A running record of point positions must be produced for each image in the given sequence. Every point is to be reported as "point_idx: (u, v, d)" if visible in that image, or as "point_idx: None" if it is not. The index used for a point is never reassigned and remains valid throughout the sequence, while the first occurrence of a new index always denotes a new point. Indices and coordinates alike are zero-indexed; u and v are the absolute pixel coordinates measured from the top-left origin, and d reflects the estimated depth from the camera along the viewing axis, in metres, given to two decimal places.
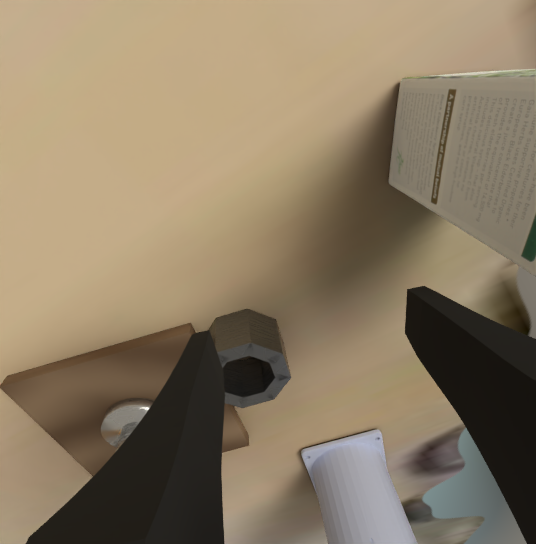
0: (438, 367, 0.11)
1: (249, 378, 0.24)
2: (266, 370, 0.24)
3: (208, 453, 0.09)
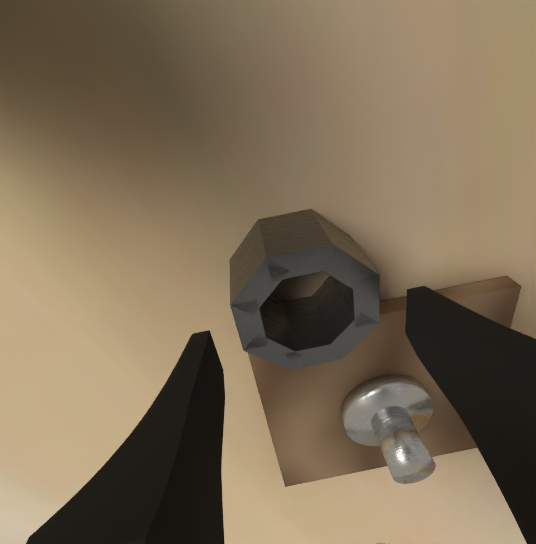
0: (438, 367, 0.11)
1: (342, 288, 0.14)
2: None
3: (208, 453, 0.09)
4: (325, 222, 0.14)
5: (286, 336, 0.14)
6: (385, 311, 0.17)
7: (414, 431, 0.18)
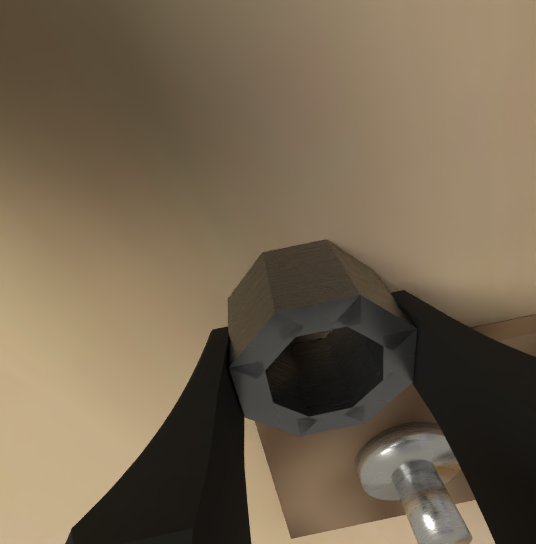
0: (416, 371, 0.11)
1: (365, 336, 0.12)
2: None
3: (234, 448, 0.09)
4: (345, 256, 0.12)
5: (297, 395, 0.12)
6: None
7: (445, 493, 0.15)
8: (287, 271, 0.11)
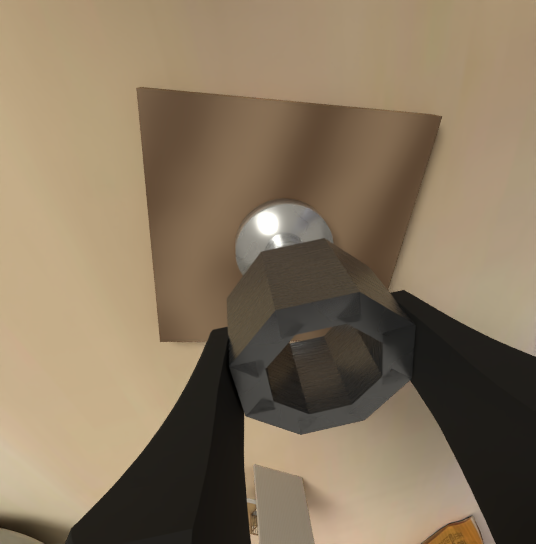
0: (416, 372, 0.11)
1: (364, 333, 0.12)
2: None
3: (233, 448, 0.09)
4: (343, 254, 0.12)
5: (297, 393, 0.12)
6: (302, 103, 0.15)
7: None
8: (286, 269, 0.11)
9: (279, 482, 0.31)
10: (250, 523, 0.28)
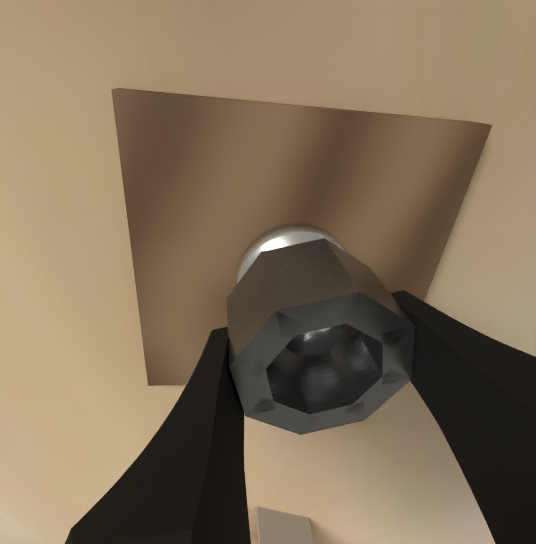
0: (416, 372, 0.11)
1: (364, 333, 0.12)
2: None
3: (233, 448, 0.09)
4: (343, 255, 0.12)
5: (297, 393, 0.12)
6: (321, 109, 0.12)
7: None
8: (286, 269, 0.11)
9: (284, 526, 0.28)
10: None
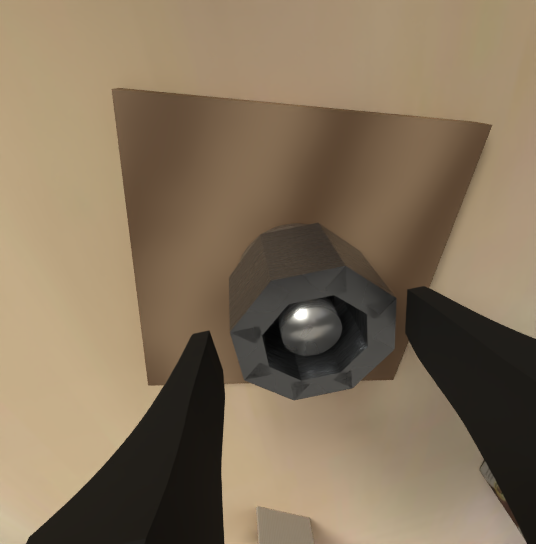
0: (438, 367, 0.11)
1: (353, 309, 0.13)
2: None
3: (208, 453, 0.09)
4: (334, 237, 0.13)
5: (291, 363, 0.13)
6: (321, 109, 0.12)
7: None
8: (282, 248, 0.12)
9: (285, 526, 0.28)
10: None
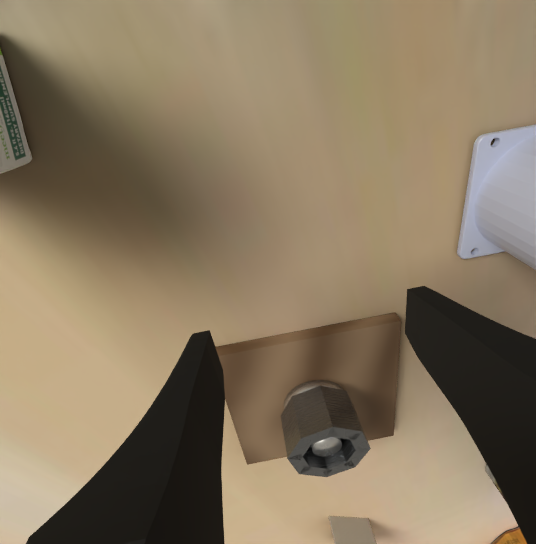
0: (438, 367, 0.11)
1: None
2: None
3: (208, 453, 0.09)
4: (329, 394, 0.25)
5: (321, 458, 0.25)
6: (308, 337, 0.24)
7: None
8: (303, 411, 0.24)
9: (350, 527, 0.40)
10: None
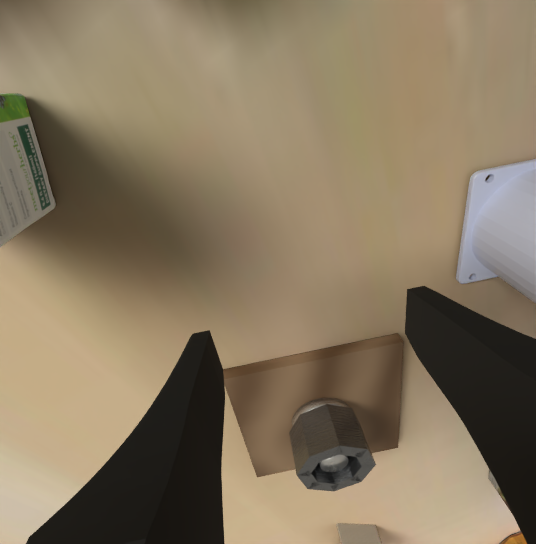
0: (438, 367, 0.11)
1: None
2: None
3: (208, 453, 0.09)
4: (335, 412, 0.26)
5: (328, 473, 0.27)
6: (315, 358, 0.26)
7: None
8: (311, 429, 0.25)
9: (358, 533, 0.41)
10: None
